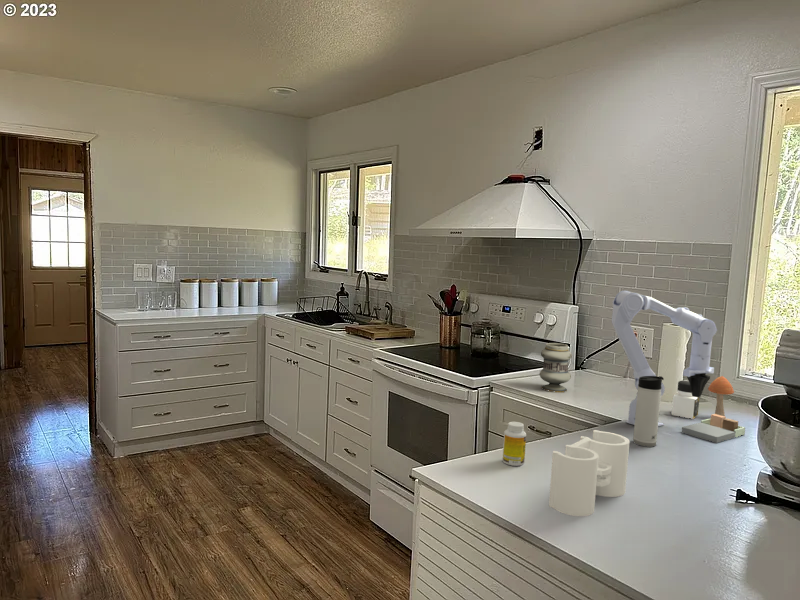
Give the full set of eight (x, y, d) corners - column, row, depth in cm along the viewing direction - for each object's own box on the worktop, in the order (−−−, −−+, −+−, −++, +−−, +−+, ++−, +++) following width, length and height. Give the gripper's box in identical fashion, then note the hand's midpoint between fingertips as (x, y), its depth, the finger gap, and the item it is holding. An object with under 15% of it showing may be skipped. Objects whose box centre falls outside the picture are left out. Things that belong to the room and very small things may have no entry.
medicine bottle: (693, 419, 206) (696, 384, 204) (671, 415, 210) (674, 381, 209) (697, 415, 211) (701, 381, 210) (676, 411, 216) (679, 378, 214)
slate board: (716, 443, 181) (717, 437, 180) (681, 432, 190) (682, 426, 189) (735, 437, 187) (735, 432, 187) (700, 427, 196) (700, 422, 196)
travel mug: (659, 448, 173) (665, 379, 171) (635, 445, 174) (641, 377, 172) (654, 441, 179) (661, 374, 177) (631, 439, 180) (637, 372, 178)
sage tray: (735, 437, 187) (735, 430, 187) (700, 427, 196) (700, 420, 196) (744, 435, 190) (745, 427, 190) (709, 425, 199) (710, 418, 199)
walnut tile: (734, 422, 188) (738, 421, 190) (723, 419, 191) (727, 418, 192) (733, 434, 189) (737, 433, 190) (722, 431, 191) (725, 430, 193)
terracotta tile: (721, 417, 193) (725, 416, 194) (711, 414, 196) (715, 413, 197) (720, 429, 193) (724, 428, 195) (709, 426, 196) (714, 425, 198)
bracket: (586, 522, 124) (590, 464, 122) (542, 506, 130) (547, 451, 129) (632, 488, 142) (636, 438, 141) (592, 476, 149) (596, 428, 147)
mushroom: (704, 419, 206) (709, 376, 205) (705, 414, 213) (709, 372, 212) (731, 423, 203) (735, 379, 201) (730, 418, 210) (735, 375, 208)
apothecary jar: (532, 386, 243) (535, 342, 241) (556, 385, 248) (559, 341, 246) (551, 394, 232) (555, 347, 230) (576, 392, 237) (580, 346, 235)
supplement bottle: (525, 467, 152) (528, 427, 151) (503, 465, 153) (506, 426, 152) (522, 459, 158) (525, 421, 157) (501, 458, 158) (503, 419, 157)
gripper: (700, 358, 187) (695, 401, 189) (724, 356, 195) (720, 397, 197) (678, 354, 193) (674, 396, 194) (703, 352, 201) (699, 392, 203)
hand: (696, 396), depth 196 cm, fingers closed
